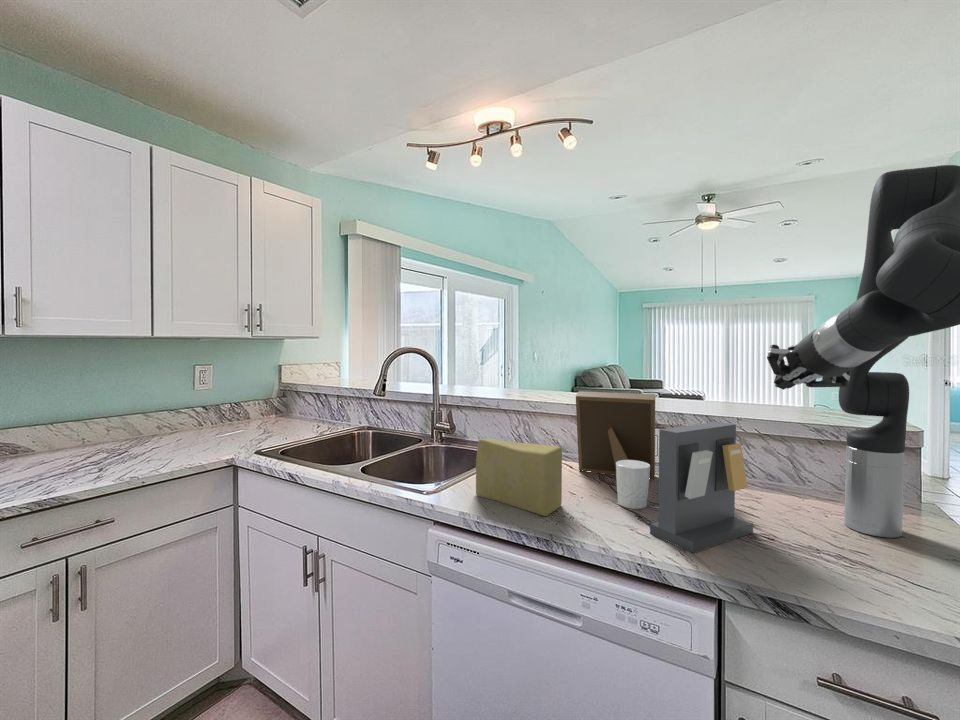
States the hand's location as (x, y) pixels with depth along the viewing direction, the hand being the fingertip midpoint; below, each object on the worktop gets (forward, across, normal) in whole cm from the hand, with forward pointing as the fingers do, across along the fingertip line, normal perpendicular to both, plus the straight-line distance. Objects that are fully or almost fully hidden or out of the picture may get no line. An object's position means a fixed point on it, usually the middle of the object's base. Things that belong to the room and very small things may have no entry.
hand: (779, 383), depth 82 cm
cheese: (+35, +36, +38) cm, 63 cm away
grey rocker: (+13, +4, +23) cm, 26 cm away
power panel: (+22, -2, +27) cm, 35 cm away
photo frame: (+56, +14, +17) cm, 60 cm away
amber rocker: (+17, -4, +16) cm, 24 cm away
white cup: (+36, +10, +25) cm, 45 cm away
